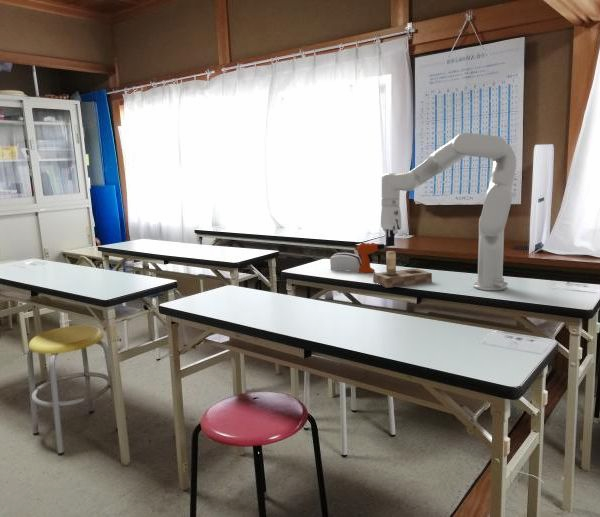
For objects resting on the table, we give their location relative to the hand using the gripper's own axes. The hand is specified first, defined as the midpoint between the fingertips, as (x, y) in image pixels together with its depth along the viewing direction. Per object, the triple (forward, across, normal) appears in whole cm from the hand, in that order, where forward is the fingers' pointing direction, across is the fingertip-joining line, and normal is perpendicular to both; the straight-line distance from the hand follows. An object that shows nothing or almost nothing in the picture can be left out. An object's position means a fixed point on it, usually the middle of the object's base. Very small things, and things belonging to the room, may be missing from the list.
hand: (390, 245), depth 223 cm
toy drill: (+17, +24, -6) cm, 30 cm away
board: (+17, 0, -6) cm, 18 cm away
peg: (+17, 0, 0) cm, 17 cm away
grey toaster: (+18, +36, +4) cm, 41 cm away
